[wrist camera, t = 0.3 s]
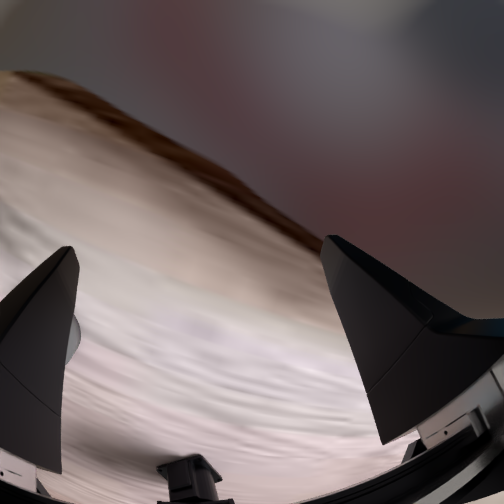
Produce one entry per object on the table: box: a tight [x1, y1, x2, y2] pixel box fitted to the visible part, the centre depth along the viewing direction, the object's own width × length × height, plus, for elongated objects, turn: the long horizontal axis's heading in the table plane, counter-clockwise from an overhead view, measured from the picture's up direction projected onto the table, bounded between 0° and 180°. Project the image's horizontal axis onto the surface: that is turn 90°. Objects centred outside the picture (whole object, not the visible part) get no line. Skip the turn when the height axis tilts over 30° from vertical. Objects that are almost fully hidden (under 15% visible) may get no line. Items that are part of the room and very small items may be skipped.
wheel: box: [65, 314, 81, 365], centre depth 20 cm, size 6×6×3 cm
